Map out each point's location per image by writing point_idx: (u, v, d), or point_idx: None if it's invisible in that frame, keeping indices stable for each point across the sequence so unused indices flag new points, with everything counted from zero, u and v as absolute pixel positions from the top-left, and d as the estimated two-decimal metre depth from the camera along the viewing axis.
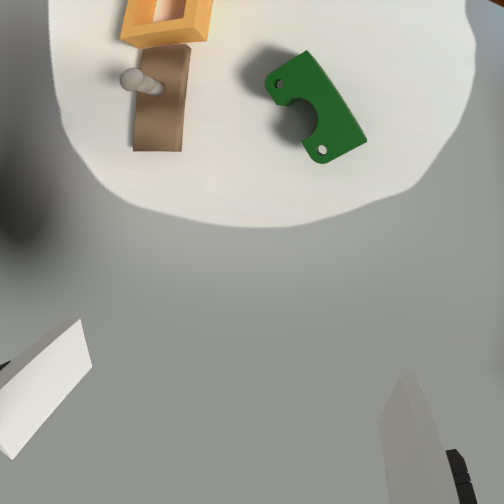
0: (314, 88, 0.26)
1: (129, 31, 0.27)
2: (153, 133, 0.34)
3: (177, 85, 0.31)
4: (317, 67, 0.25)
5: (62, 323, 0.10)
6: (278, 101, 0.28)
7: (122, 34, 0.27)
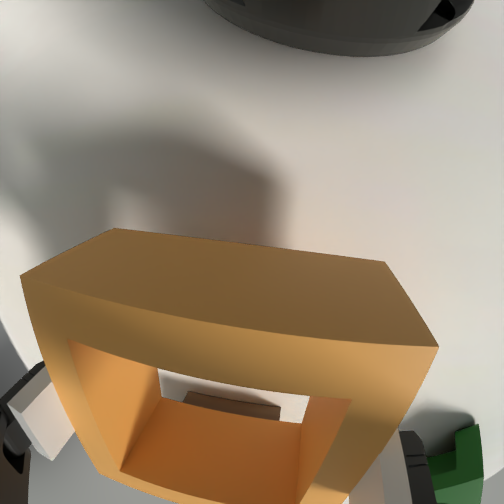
0: (463, 497, 0.12)
1: (120, 476, 0.09)
2: None
3: None
4: (480, 486, 0.11)
5: None
6: None
7: (101, 470, 0.09)
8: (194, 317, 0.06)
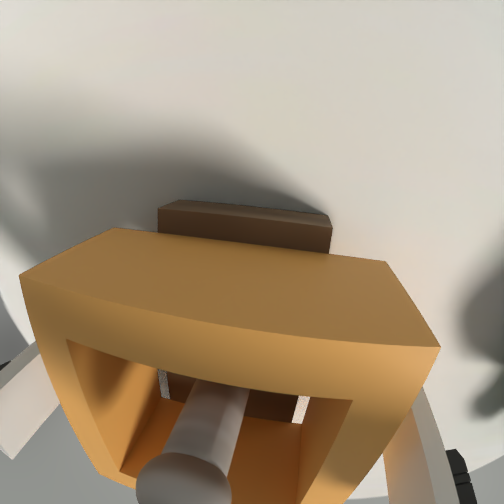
0: None
1: (119, 477, 0.09)
2: None
3: None
4: None
5: None
6: None
7: (101, 470, 0.09)
8: (194, 317, 0.06)
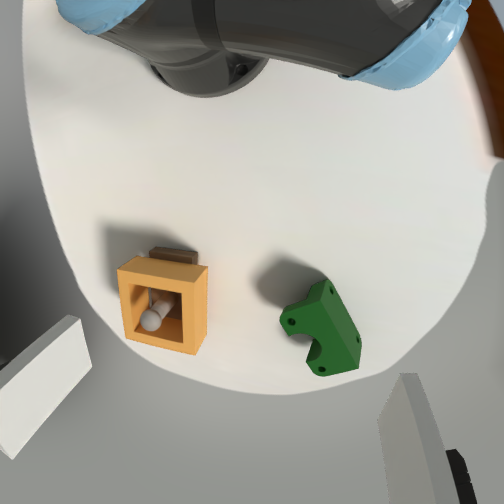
0: (322, 330, 0.33)
1: (133, 335, 0.36)
2: None
3: None
4: (327, 315, 0.32)
5: (62, 323, 0.10)
6: (290, 334, 0.35)
7: (127, 335, 0.36)
8: (154, 275, 0.33)
